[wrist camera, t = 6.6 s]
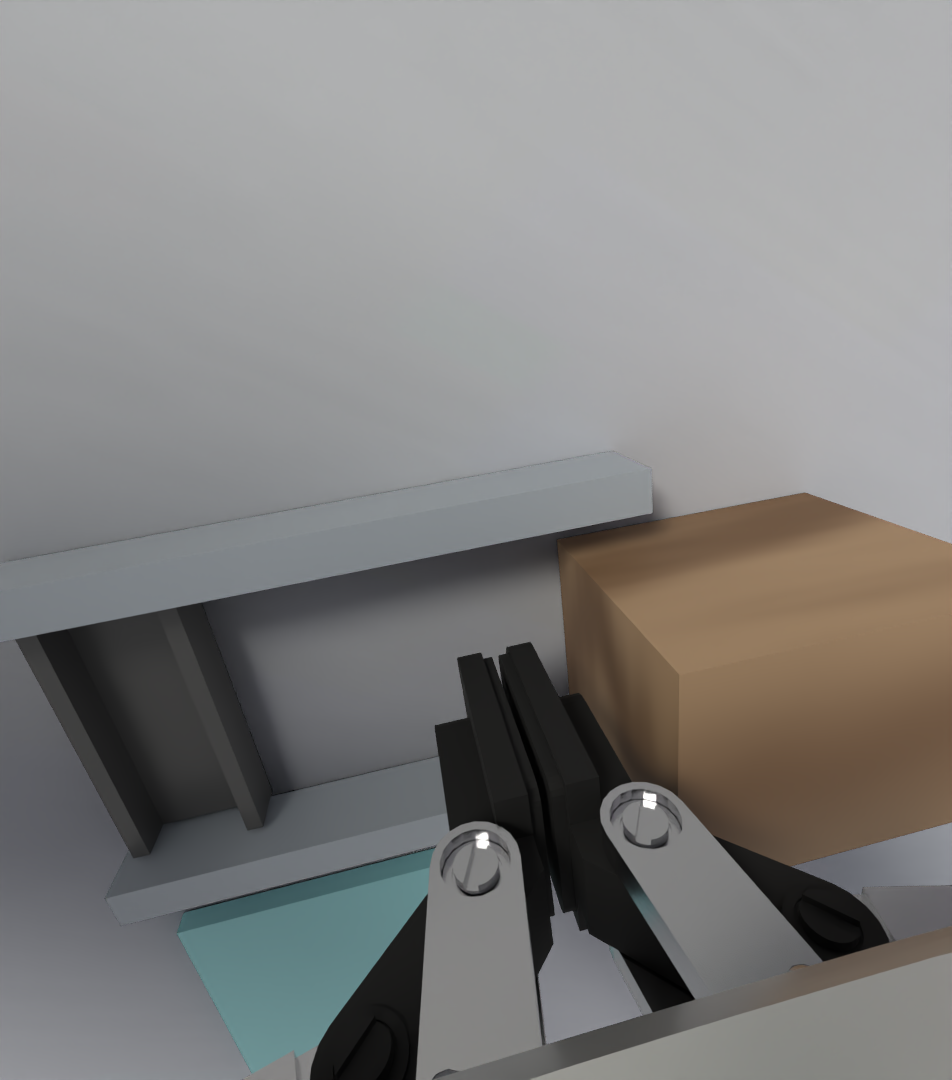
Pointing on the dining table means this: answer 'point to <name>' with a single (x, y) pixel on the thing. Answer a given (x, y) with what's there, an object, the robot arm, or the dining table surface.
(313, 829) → the grey twin-rail rack
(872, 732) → the walnut block
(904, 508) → the dining table surface
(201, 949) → the pad
